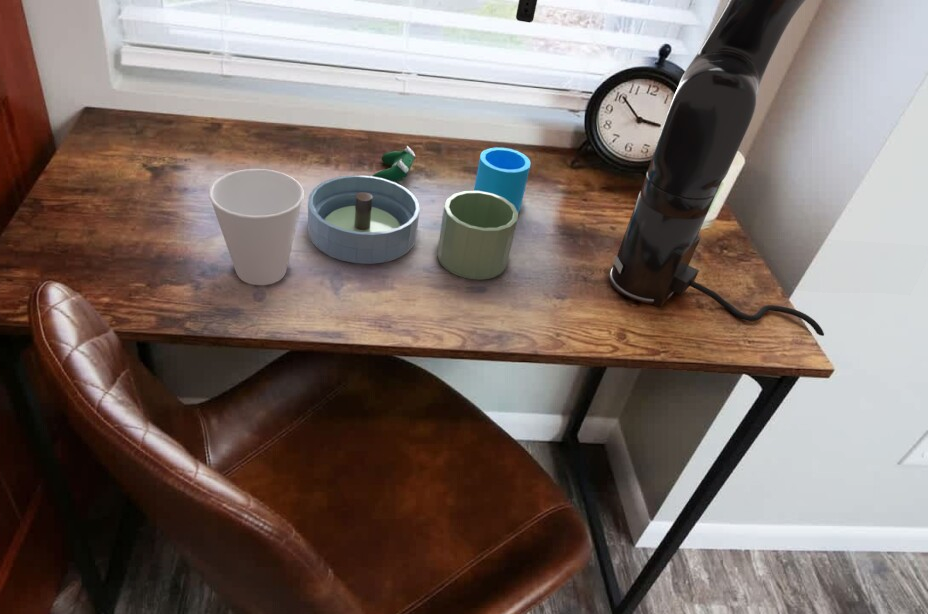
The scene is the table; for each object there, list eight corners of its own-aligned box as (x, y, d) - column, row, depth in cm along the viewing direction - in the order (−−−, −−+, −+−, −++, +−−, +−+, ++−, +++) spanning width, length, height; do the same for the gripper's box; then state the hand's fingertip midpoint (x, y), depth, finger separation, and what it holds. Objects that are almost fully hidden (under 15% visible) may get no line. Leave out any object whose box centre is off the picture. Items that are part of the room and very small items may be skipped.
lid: (406, 219, 110) (410, 184, 106) (390, 260, 101) (394, 224, 97) (335, 205, 111) (336, 171, 106) (314, 245, 102) (314, 209, 98)
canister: (509, 246, 108) (520, 198, 103) (503, 285, 100) (514, 236, 95) (443, 233, 109) (450, 185, 103) (432, 271, 101) (439, 221, 96)
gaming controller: (382, 197, 118) (409, 179, 115) (368, 179, 117) (395, 161, 114) (394, 171, 125) (420, 154, 122) (381, 155, 124) (407, 137, 120)
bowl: (437, 238, 108) (441, 207, 104) (363, 280, 98) (365, 248, 94) (361, 195, 115) (362, 164, 111) (285, 231, 105) (284, 199, 101)
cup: (210, 251, 99) (201, 172, 91) (293, 241, 103) (292, 164, 95) (224, 303, 91) (216, 221, 83) (314, 290, 95) (314, 211, 87)
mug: (523, 219, 114) (533, 174, 109) (473, 215, 114) (481, 169, 108) (515, 182, 123) (524, 139, 118) (469, 178, 123) (476, 134, 117)
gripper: (588, -123, 75) (552, 33, 86) (588, -141, 86) (556, 0, 96) (518, -134, 76) (492, 23, 86) (527, -151, 86) (503, -9, 97)
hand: (526, 10), depth 91 cm, fingers open, 8 cm apart
